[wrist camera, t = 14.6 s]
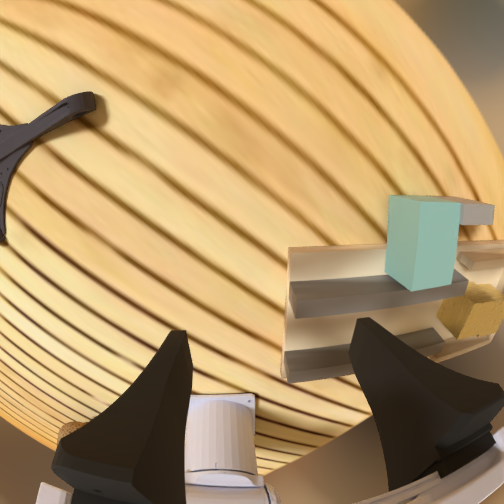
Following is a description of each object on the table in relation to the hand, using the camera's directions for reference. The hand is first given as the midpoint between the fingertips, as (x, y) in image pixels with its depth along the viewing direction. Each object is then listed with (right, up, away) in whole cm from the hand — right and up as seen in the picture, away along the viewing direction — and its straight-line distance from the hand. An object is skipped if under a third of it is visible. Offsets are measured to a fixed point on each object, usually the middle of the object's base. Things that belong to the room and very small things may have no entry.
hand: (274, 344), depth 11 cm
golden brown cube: (+20, -1, +12) cm, 23 cm away
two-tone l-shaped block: (+13, +8, +6) cm, 17 cm away
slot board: (+15, -1, +13) cm, 20 cm away
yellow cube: (+24, -1, +13) cm, 27 cm away
